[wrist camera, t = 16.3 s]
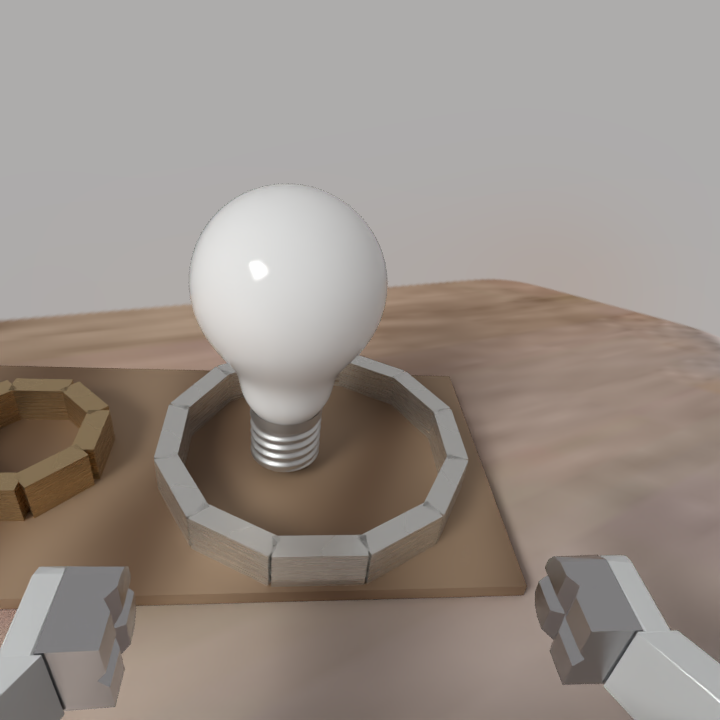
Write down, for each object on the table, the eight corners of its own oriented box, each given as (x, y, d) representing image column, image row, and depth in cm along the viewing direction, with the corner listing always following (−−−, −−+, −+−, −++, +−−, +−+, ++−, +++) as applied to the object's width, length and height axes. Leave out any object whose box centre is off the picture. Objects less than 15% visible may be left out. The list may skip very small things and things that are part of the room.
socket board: (-275, 616, 17) (-313, 573, 16) (-63, 373, 27) (-77, 336, 25) (523, 595, 20) (538, 557, 19) (447, 384, 30) (454, 351, 28)
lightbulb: (279, 392, 27) (284, 148, 21) (393, 455, 24) (438, 195, 18) (168, 465, 22) (133, 181, 16) (291, 553, 20) (305, 250, 14)
